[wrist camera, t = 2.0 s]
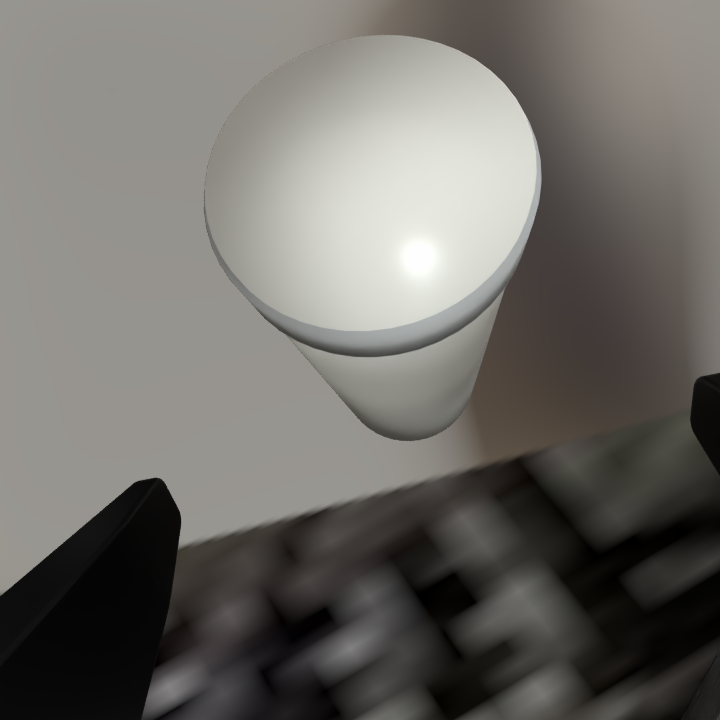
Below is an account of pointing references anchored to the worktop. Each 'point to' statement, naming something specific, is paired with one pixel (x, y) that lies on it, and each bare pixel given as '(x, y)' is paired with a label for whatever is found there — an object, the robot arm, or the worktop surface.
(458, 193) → the white cylinder
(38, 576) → the robot arm
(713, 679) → the duct collar
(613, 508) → the worktop surface
